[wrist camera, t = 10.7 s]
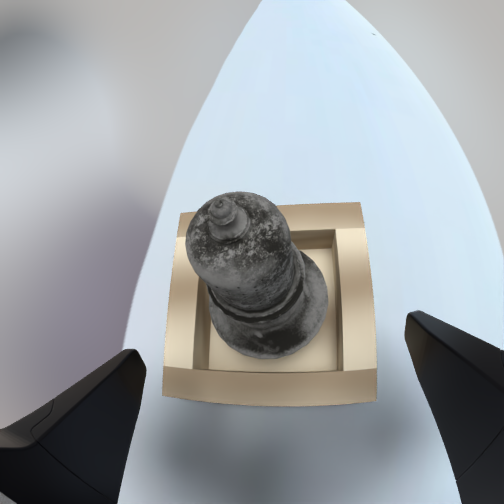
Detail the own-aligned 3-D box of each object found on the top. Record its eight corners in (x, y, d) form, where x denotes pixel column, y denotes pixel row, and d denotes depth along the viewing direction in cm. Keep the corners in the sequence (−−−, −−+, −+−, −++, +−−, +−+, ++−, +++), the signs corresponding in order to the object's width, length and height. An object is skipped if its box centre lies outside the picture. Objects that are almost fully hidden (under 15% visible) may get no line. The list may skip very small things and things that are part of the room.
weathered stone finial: (264, 249, 18) (210, 93, 7) (341, 298, 16) (403, 168, 5) (208, 322, 17) (69, 242, 6) (284, 380, 15) (241, 416, 4)
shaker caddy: (362, 394, 14) (376, 401, 11) (186, 391, 16) (162, 395, 13) (352, 229, 19) (360, 202, 16) (198, 237, 21) (180, 213, 17)
